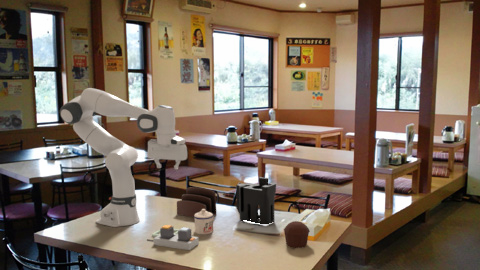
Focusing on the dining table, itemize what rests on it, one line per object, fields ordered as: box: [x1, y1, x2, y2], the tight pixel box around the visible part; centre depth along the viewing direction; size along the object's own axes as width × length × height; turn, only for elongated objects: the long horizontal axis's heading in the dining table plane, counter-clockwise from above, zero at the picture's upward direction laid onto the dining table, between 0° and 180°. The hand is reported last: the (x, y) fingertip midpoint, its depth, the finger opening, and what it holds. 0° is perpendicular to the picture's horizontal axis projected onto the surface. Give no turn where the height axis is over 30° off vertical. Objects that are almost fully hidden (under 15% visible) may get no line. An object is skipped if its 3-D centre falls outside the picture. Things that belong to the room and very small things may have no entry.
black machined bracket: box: [235, 176, 277, 224], centre depth 223 cm, size 12×21×22 cm, turn 54°
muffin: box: [283, 220, 311, 249], centre depth 191 cm, size 12×11×10 cm
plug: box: [159, 224, 175, 239], centre depth 193 cm, size 4×4×8 cm
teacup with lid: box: [193, 209, 215, 235], centre depth 209 cm, size 12×9×12 cm
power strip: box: [146, 234, 200, 251], centre depth 192 cm, size 24×8×5 cm, turn 68°
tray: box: [151, 228, 180, 238], centre depth 205 cm, size 10×10×2 cm
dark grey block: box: [178, 226, 192, 242], centre depth 189 cm, size 4×4×8 cm
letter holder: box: [176, 187, 217, 218], centre depth 237 cm, size 10×20×14 cm, turn 59°
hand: (167, 168), depth 207 cm, fingers open, 8 cm apart
